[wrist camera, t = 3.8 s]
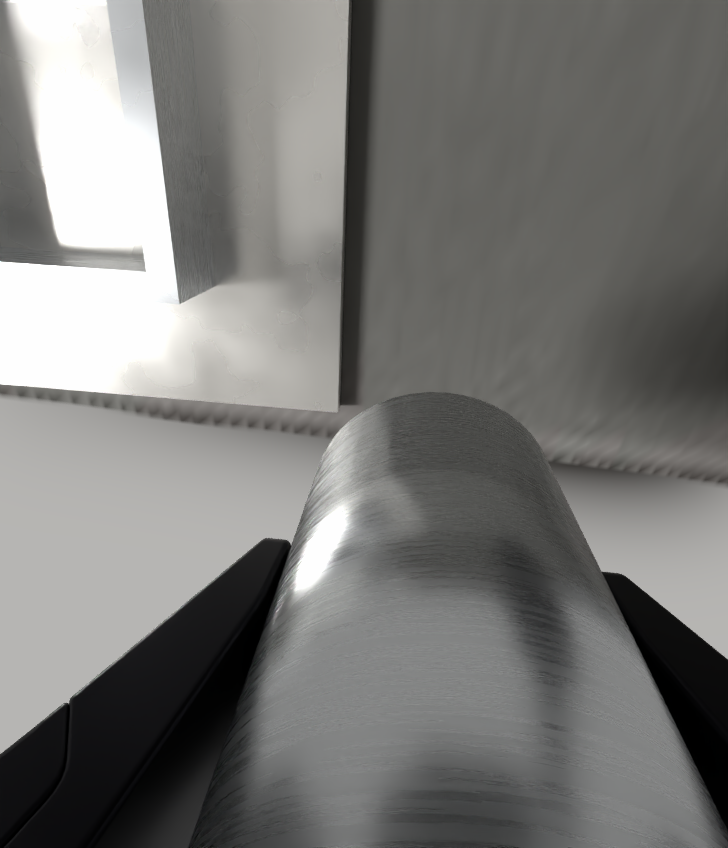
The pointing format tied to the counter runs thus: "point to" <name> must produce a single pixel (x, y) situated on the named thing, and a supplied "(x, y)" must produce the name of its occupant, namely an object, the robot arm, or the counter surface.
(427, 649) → the sleeve
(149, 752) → the robot arm
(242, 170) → the duct socket
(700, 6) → the counter surface
